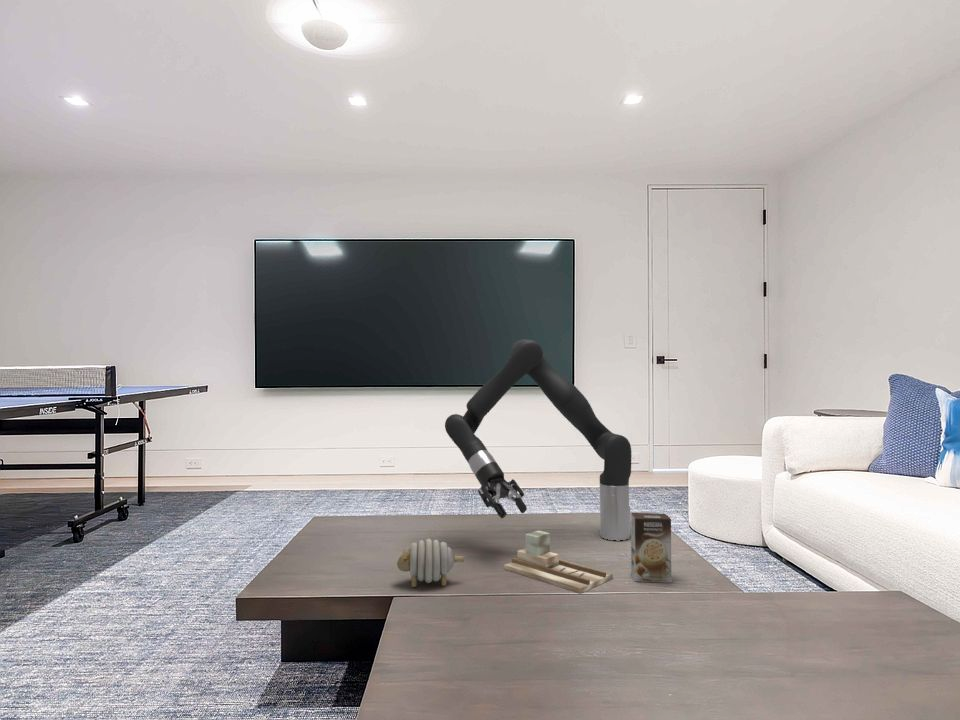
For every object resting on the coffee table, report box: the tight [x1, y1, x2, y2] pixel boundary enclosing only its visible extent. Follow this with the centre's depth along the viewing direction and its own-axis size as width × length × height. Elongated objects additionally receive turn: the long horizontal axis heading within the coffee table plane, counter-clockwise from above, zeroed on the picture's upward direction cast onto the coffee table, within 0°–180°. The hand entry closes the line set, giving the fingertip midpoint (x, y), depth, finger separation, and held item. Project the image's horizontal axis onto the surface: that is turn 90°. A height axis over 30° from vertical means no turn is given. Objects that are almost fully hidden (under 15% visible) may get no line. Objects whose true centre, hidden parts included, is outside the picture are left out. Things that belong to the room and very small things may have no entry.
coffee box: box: [630, 512, 673, 584], centre depth 147 cm, size 9×6×16 cm
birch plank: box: [503, 557, 614, 594], centre depth 150 cm, size 14×25×2 cm, turn 45°
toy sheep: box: [396, 538, 465, 588], centre depth 144 cm, size 11×17×11 cm, turn 100°
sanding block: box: [516, 530, 560, 568], centre depth 155 cm, size 6×10×8 cm, turn 45°
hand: (514, 513), depth 161 cm, fingers open, 8 cm apart
